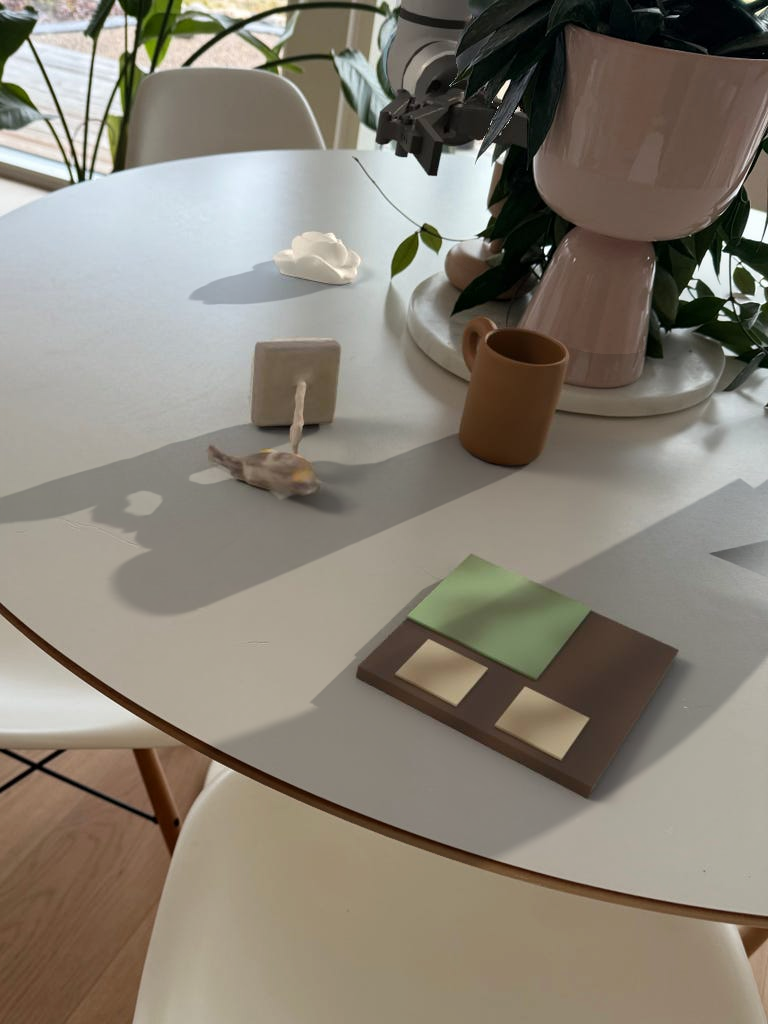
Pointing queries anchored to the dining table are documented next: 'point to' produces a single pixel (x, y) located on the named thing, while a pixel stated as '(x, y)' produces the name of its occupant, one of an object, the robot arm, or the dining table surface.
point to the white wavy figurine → (318, 259)
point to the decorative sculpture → (287, 409)
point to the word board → (522, 671)
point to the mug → (510, 391)
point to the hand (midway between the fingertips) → (514, 165)
